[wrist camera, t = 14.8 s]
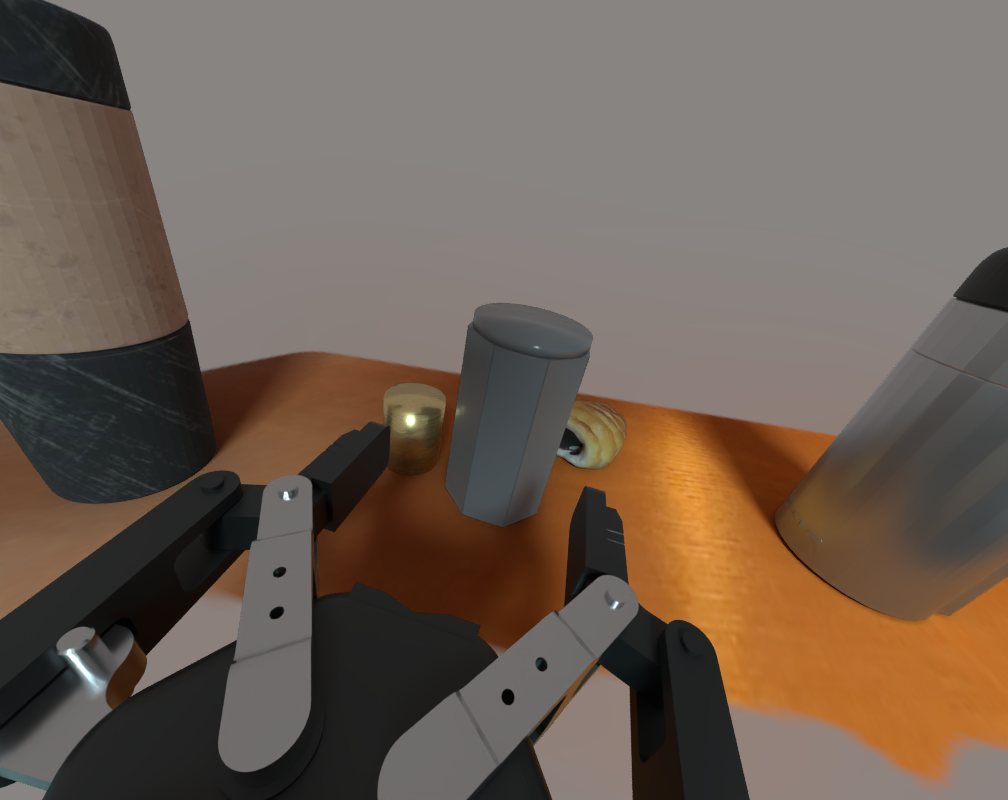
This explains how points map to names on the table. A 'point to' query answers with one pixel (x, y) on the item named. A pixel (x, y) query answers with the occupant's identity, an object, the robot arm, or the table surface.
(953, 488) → the robot arm
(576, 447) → the pastry
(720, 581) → the table surface
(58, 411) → the travel mug
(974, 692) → the table surface
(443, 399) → the gold cylinder
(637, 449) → the table surface
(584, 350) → the canister
